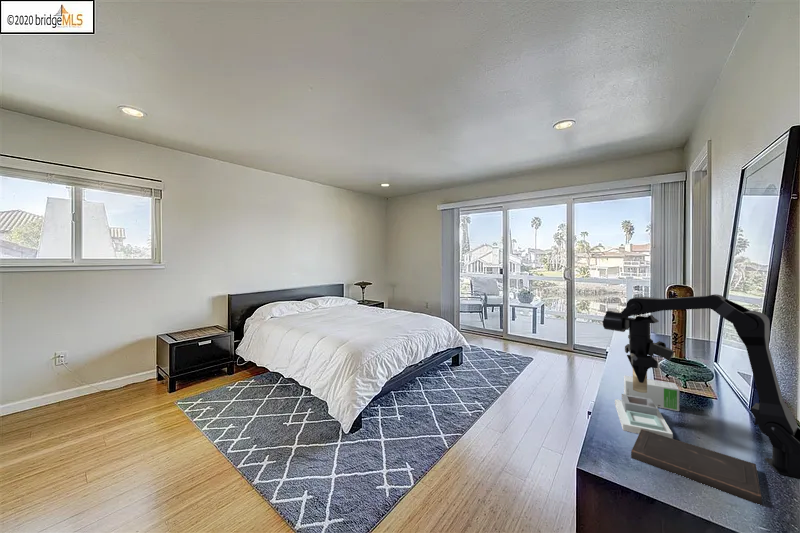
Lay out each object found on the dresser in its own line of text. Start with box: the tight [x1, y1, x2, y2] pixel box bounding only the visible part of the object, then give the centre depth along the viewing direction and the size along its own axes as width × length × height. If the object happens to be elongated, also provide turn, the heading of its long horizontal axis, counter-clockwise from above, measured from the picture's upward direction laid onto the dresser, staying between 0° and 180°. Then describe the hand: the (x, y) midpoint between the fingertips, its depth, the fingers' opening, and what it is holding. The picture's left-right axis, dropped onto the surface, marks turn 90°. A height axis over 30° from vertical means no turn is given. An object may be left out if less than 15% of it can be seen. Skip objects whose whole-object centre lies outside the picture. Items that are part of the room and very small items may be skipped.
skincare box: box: [623, 375, 680, 412], centre depth 115 cm, size 8×7×16 cm
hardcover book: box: [630, 429, 763, 506], centre depth 81 cm, size 16×23×2 cm
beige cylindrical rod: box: [632, 368, 648, 393], centre depth 104 cm, size 4×4×10 cm
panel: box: [614, 393, 674, 439], centre depth 103 cm, size 20×12×5 cm, turn 151°
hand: (640, 380), depth 104 cm, fingers closed on beige cylindrical rod, 4 cm apart
